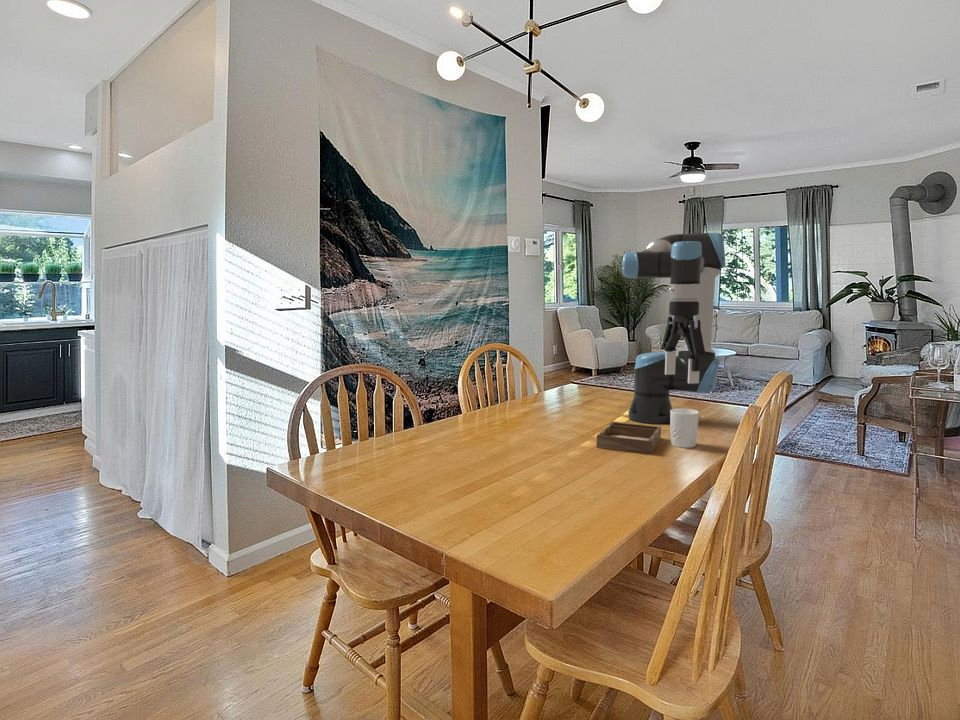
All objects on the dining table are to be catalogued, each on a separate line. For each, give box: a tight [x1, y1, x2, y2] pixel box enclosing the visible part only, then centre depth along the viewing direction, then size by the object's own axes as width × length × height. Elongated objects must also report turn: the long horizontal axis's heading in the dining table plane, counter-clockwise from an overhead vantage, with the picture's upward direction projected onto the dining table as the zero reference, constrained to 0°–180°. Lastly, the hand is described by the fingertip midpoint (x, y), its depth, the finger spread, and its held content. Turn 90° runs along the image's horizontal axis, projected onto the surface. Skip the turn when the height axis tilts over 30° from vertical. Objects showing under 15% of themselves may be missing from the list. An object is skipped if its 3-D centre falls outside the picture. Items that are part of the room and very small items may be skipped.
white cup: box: [669, 407, 700, 449], centre depth 164 cm, size 8×8×10 cm
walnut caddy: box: [596, 421, 662, 455], centre depth 167 cm, size 18×15×4 cm
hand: (681, 378), depth 154 cm, fingers open, 13 cm apart
